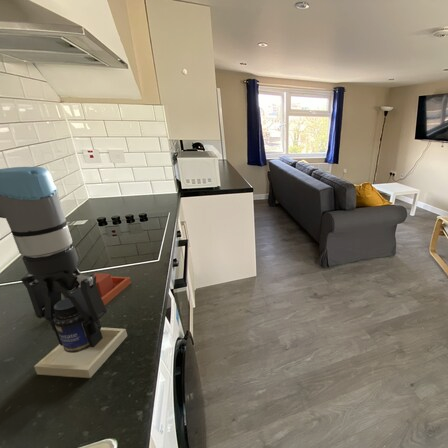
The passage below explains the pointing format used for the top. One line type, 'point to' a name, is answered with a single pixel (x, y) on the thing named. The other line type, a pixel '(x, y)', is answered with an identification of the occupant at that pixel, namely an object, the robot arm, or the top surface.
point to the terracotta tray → (115, 288)
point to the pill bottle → (70, 326)
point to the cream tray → (81, 357)
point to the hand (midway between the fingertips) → (82, 341)
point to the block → (103, 283)
